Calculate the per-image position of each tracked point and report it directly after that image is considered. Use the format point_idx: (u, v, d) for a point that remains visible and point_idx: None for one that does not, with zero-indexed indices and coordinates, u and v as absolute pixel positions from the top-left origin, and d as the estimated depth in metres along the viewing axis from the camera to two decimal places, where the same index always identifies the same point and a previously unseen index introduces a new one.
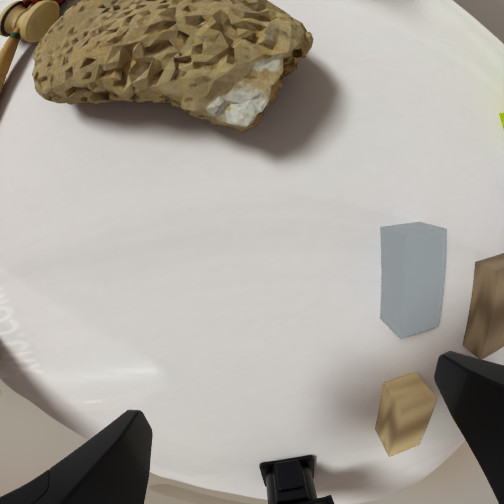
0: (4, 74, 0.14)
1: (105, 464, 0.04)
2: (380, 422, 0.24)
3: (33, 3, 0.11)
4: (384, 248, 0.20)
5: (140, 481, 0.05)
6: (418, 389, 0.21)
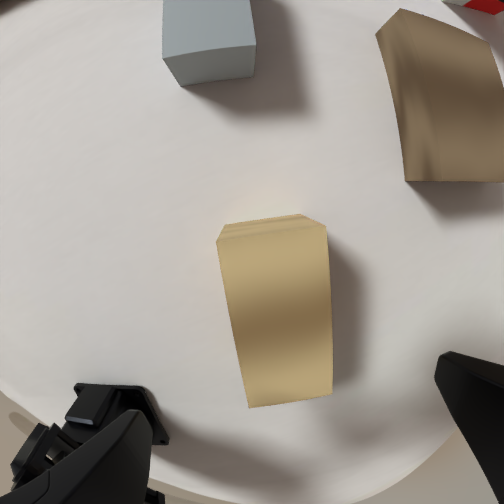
0: None
1: (105, 464, 0.04)
2: None
3: None
4: None
5: (140, 481, 0.05)
6: (285, 223, 0.12)
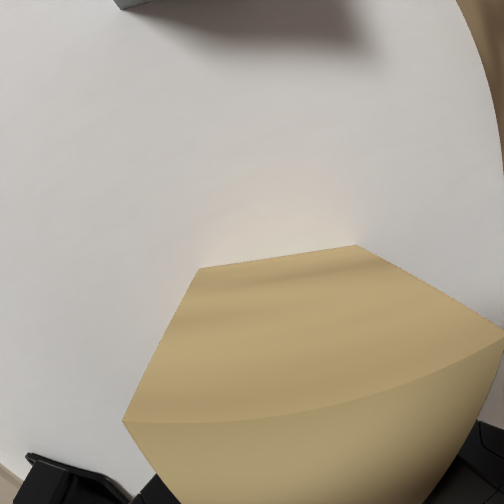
0: None
1: None
2: None
3: None
4: None
5: None
6: (356, 294, 0.04)
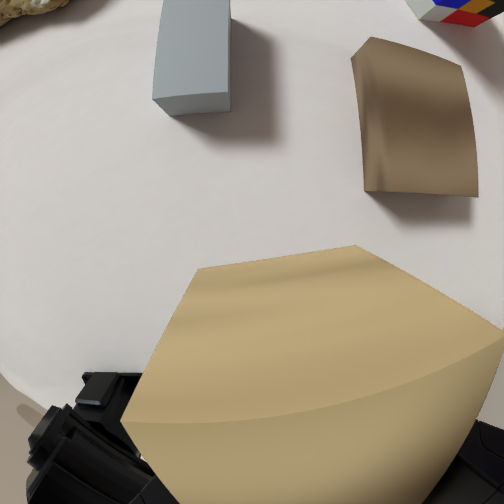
0: None
1: None
2: None
3: None
4: None
5: None
6: (355, 293, 0.04)
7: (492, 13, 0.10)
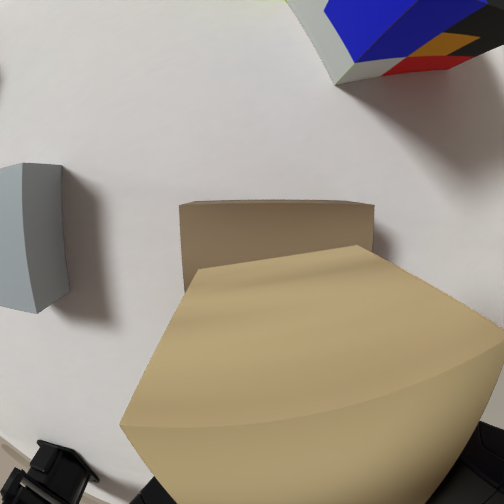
0: None
1: None
2: None
3: None
4: None
5: None
6: (358, 294, 0.04)
7: (477, 51, 0.08)
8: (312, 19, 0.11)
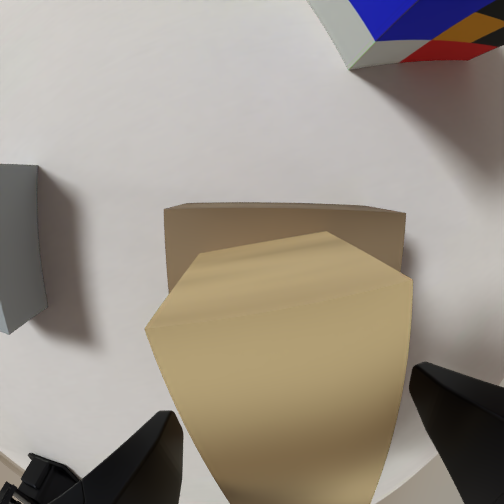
0: None
1: (142, 470, 0.04)
2: None
3: None
4: None
5: (175, 484, 0.05)
6: (308, 260, 0.06)
7: (502, 40, 0.06)
8: None
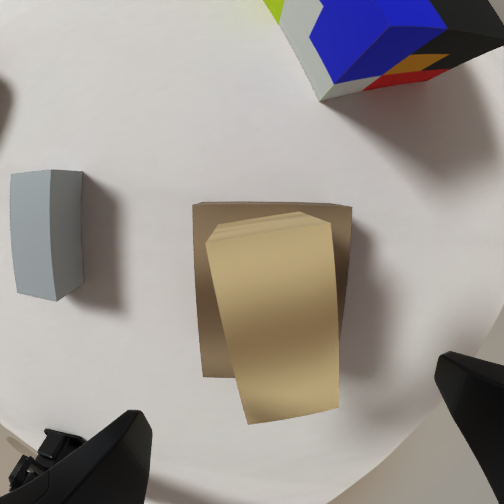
0: None
1: (106, 464, 0.04)
2: None
3: None
4: None
5: (141, 481, 0.05)
6: (284, 221, 0.11)
7: (451, 64, 0.11)
8: (300, 43, 0.13)
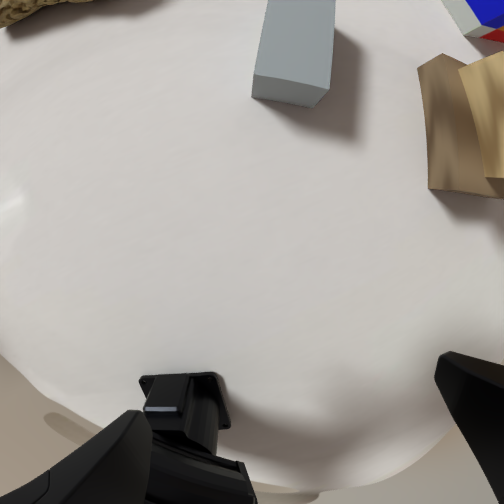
0: None
1: (105, 464, 0.04)
2: (489, 143, 0.12)
3: None
4: None
5: (140, 481, 0.05)
6: None
7: None
8: None
